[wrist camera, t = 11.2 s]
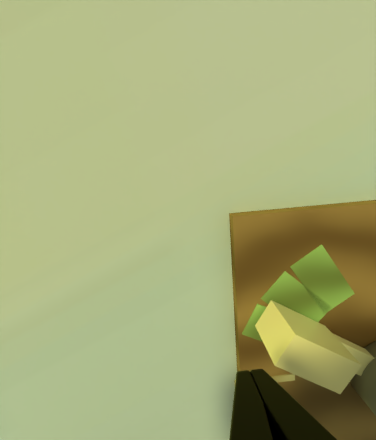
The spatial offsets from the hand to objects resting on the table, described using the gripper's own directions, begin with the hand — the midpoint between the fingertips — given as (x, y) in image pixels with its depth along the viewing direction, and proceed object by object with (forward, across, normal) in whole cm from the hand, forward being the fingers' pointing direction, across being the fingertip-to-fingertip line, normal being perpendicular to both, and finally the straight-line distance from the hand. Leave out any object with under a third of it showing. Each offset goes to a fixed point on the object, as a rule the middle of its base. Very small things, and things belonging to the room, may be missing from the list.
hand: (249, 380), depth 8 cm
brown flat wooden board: (+12, -12, +8) cm, 19 cm away
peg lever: (+11, -10, +9) cm, 17 cm away
